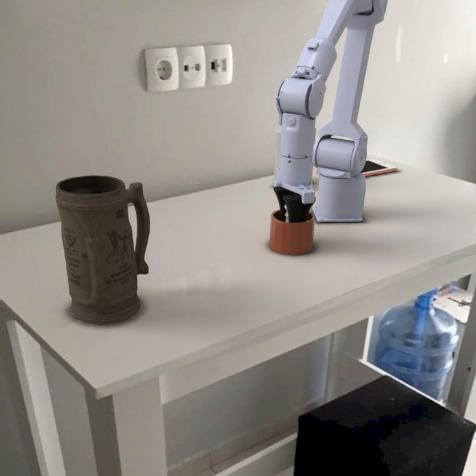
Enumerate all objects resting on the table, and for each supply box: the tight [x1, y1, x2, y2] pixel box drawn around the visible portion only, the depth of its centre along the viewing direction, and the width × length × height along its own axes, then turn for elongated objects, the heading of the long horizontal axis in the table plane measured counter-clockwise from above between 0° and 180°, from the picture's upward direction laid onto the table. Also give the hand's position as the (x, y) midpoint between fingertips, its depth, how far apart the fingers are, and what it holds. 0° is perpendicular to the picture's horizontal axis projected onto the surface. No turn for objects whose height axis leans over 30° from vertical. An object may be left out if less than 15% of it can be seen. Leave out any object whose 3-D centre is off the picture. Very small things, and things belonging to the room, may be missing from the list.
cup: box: [269, 208, 316, 256], centre depth 119 cm, size 8×8×6 cm
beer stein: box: [55, 174, 151, 325], centre depth 96 cm, size 15×11×20 cm
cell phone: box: [360, 158, 398, 177], centre depth 159 cm, size 9×18×1 cm, turn 120°
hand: (292, 229), depth 119 cm, fingers closed on rook chess piece, 3 cm apart
